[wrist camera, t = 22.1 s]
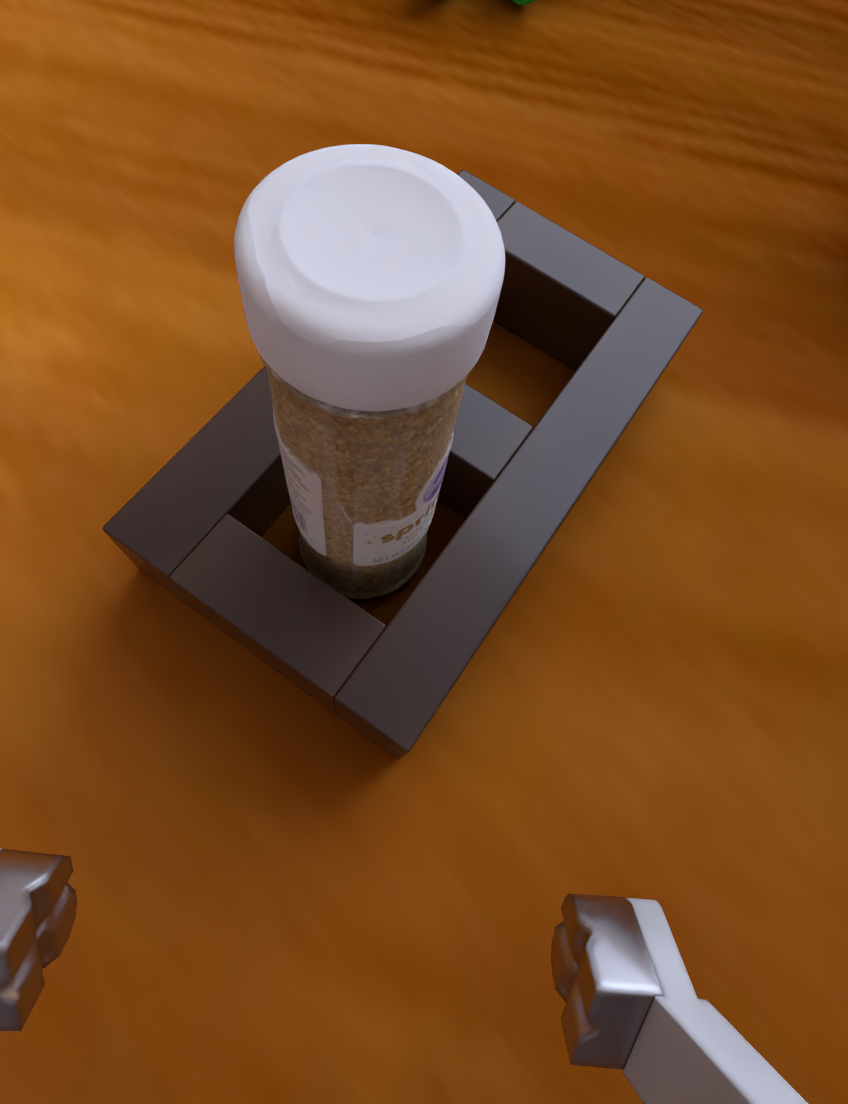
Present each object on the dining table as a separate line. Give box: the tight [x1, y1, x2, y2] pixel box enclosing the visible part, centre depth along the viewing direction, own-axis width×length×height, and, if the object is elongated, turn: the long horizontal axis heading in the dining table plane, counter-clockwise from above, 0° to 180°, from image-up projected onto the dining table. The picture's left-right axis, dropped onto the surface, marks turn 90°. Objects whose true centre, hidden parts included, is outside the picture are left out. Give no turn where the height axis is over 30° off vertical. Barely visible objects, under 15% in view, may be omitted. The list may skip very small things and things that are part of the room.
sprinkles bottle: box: [234, 144, 505, 599], centre depth 17 cm, size 5×5×14 cm
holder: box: [103, 170, 703, 760], centre depth 23 cm, size 11×19×4 cm, turn 146°
